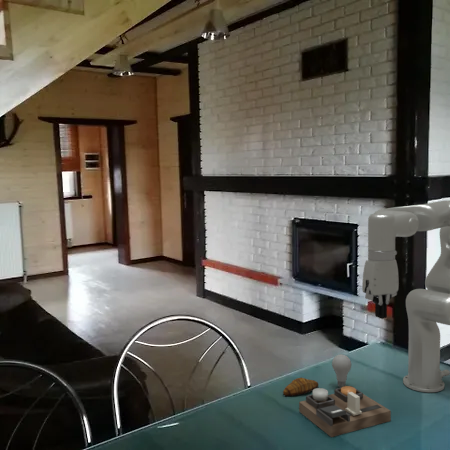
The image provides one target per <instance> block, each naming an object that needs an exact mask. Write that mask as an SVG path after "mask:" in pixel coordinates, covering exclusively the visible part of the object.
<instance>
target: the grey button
mask: <svg viewBox="0 0 450 450" xmlns="http://www.w3.org/2000/svg"><path fill="white" fill-rule="evenodd" d="M312 394H313V399H315V400H318V401H324V400H327V399H328V395H329V391H328V390H327V389H326V388H323V387H322V388H321V387H317V388H316V389H314V390H313V391H312Z"/></svg>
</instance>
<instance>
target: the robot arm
mask: <svg viewBox="0 0 450 450" xmlns="http://www.w3.org/2000/svg"><path fill="white" fill-rule="evenodd" d="M367 223H368V224H367V225H368V226H367V229H368V230H367V260H365V262H364V267H363V273H362V284H361V285H362V286H361V289H362V293H364V294H365V296H364V298H365V300H368V301H372V303H373V304H374V308H375V309H374V315H375V317H377V318H379V319H381V320H383V319H387V318H388V305H389V304H390V300H391V299H392V298H394V297H395V296H397V295H398V291H399V286H400V285H399V284H400V283H399V268H398V263H397V260H396V255H397V254H398V251H397V250H396V238H397V237H399V238H401V237H402V238H408V237H412V236H414V235H415V234H416V233H417V232H428V231H432V230H436V229H439V242H440V255H439V257H438V259H437V260H436V261H435V263H434V265H433V267H431V269H430V271H429V272H428V274H427V276H426V278H425V280H424V285H425V288H426V289H424V288H416V289H413V290H411V291H410V292H408V294H407V295H406V298H405V308H406V309H405V310H406V313H407V319H408V320H407V321H408V364H407V366H408V367H407V369H408V371H407V372H408V373H407V375H405V376H403V378H402V383H403V385H404V386H405V387H407V388H409V389H410V390H413V391H417V392H420V393H437V392H441V391H443V390H444V389H445V382H444V381H443V380H442V379H443V378H444V377H448V376H450V370H449V369H443V370H441V369H440V368H441V367H440V365H441V364H440V363H441V362H440V361H441V360H440V359H441V331H440V328H439V325H438V324H441V325H446V326H450V200H448V199H447V200H440V201H439V200H438V201H435V202H434V201H433V202H428V203H423V204H414V205H413V204H412V205H407V206H406V205H404V206H395V207H388V208H382V209H378V210H376V211H374V213H372V214H370V215H369V216H368V221H367ZM437 323H438V324H437Z"/></svg>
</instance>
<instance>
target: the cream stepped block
mask: <svg viewBox="0 0 450 450" xmlns="http://www.w3.org/2000/svg"><path fill="white" fill-rule="evenodd" d="M345 410H346V411H347V412H349V413H350V414H352V415H353V416H355V415H358V414H362V411H360V397H359V396H358V395H356V394H354V393H353V392H348V408H345Z"/></svg>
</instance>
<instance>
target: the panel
mask: <svg viewBox="0 0 450 450" xmlns="http://www.w3.org/2000/svg"><path fill="white" fill-rule="evenodd" d="M349 386H350V387H353V386H352V385H349ZM355 389H356V395H358V396H359V397H360V411H362V414H358V415H355V416H353V415H352V414H350V413H349V412H347V411H346V410H345V408H348V396H345V395H344V394H342V393H341V388H340V387H338V388H335V389H334V390H333V391H334V392H333V393H331V394H328V399H327V400H324V401H318V400H315V399H313V393H312V394H309V395H306V396H305V399H304V400H301V401H299V404H298V406H299V407H298V408H299V409H298V411H299V413H301V414H302V415H303V416H304V417H306V418H307V419H308V420H309V421H310V422H312V423H313V424H314V425H315V426H317V427H318V428H319V429H320V430H322V431H323V432H324V433H325V434H327V435H328V436H329V437H330V438H334V437H337V436H341V435H346V434H348V433H351V432H356V431H359V430H362V429H363V430H364V429H366V428H370V427H373V426H377V425H381V424H383V423H384V424H385V423H388V422H391V421H392V420H391V419H392V418H391V417H392V416H391V414H392V413H391V412H392V411H391V409H389V408H387V407H385V406H384V405H382V404H381V403H378V402H377V401H375V400H374V399H372V398H370V397H369V396H367V395H366V394H364V393H363V392H362V391H360V390H358V389H357V388H355ZM332 405H333V406H335V407H338V408H340V409H343V410H345V411H346V415H342V416H338V417H335V418H331V417H329V416H327V415H326V414H325V413H323V412H322V411H321V410H320V408H324V407H328V406H332Z"/></svg>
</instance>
